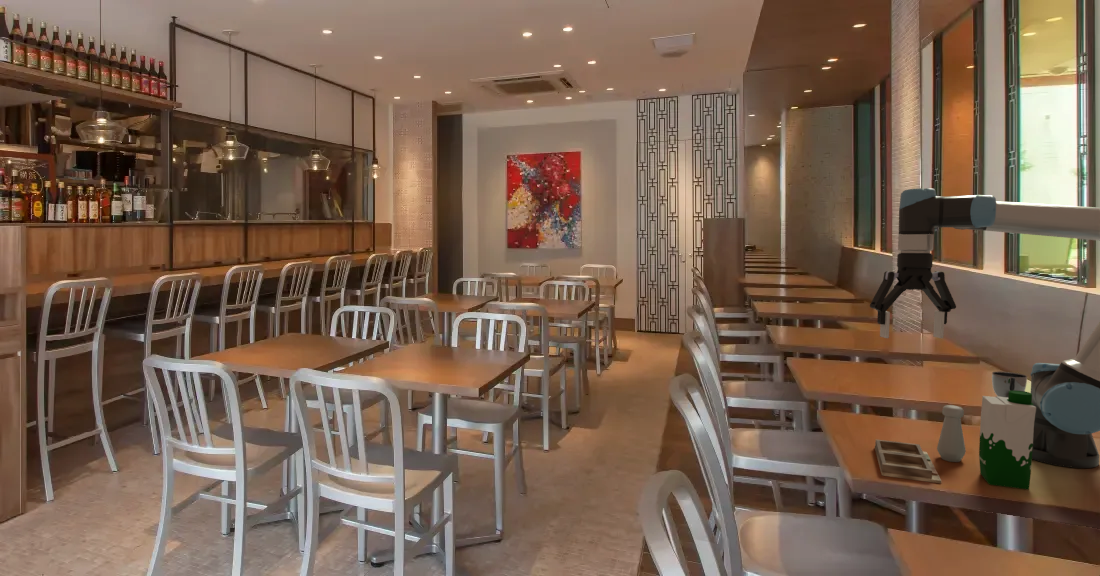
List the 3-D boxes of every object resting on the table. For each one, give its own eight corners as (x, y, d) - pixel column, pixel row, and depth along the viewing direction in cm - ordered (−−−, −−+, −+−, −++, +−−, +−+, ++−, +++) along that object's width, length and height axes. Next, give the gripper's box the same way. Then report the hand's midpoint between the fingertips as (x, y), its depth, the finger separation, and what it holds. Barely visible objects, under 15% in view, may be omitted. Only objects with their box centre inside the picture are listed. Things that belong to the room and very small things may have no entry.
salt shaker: (969, 464, 144) (972, 410, 143) (942, 462, 145) (945, 408, 144) (958, 456, 150) (960, 403, 149) (932, 454, 151) (934, 402, 150)
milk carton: (1035, 492, 128) (1041, 398, 127) (984, 485, 131) (988, 394, 130) (1021, 477, 136) (1026, 389, 135) (973, 471, 140) (978, 385, 138)
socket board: (926, 454, 151) (926, 444, 151) (941, 483, 133) (941, 472, 132) (874, 448, 156) (874, 438, 156) (881, 475, 137) (882, 464, 137)
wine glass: (996, 428, 172) (998, 376, 171) (985, 420, 180) (987, 370, 179) (1029, 431, 170) (1032, 378, 169) (1016, 423, 178) (1019, 372, 177)
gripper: (954, 252, 154) (950, 335, 156) (857, 251, 154) (854, 335, 156) (975, 252, 147) (971, 339, 148) (873, 252, 147) (869, 339, 148)
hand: (911, 337), depth 152 cm, fingers open, 13 cm apart
